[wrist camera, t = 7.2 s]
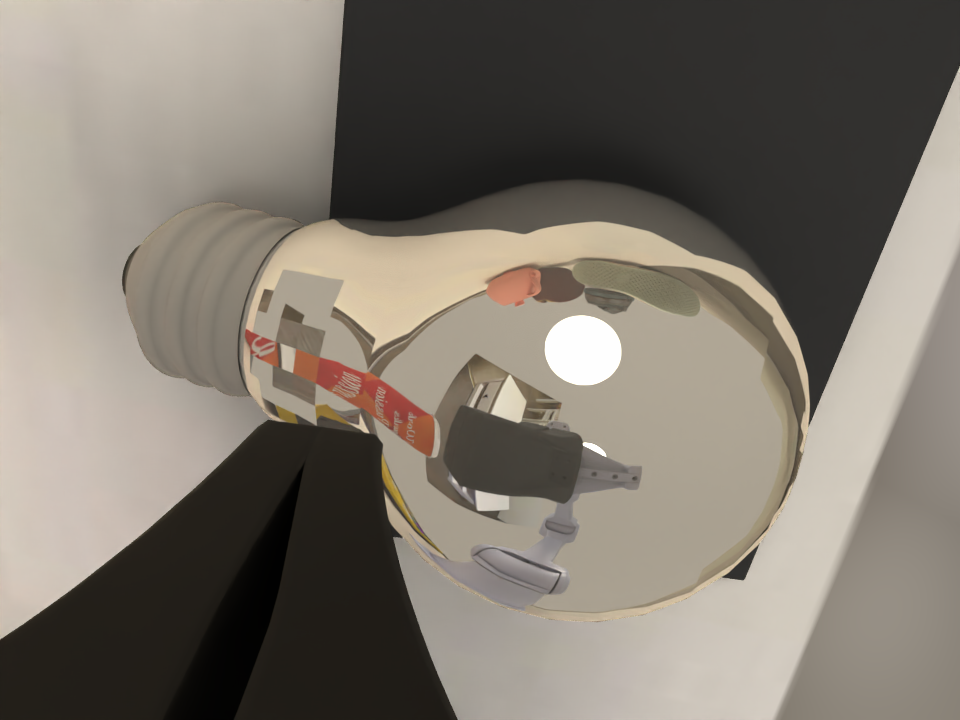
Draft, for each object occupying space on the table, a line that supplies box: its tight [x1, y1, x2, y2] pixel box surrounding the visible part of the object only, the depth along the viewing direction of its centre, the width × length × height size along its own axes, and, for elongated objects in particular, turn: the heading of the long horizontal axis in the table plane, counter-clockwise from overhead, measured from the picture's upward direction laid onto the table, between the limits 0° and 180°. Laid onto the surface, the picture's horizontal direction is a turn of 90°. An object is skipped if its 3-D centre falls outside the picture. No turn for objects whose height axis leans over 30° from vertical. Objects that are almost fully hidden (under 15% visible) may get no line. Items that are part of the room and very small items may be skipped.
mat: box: [329, 0, 960, 580], centre depth 16 cm, size 16×11×1 cm
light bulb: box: [122, 178, 810, 622], centre depth 14 cm, size 7×7×12 cm
